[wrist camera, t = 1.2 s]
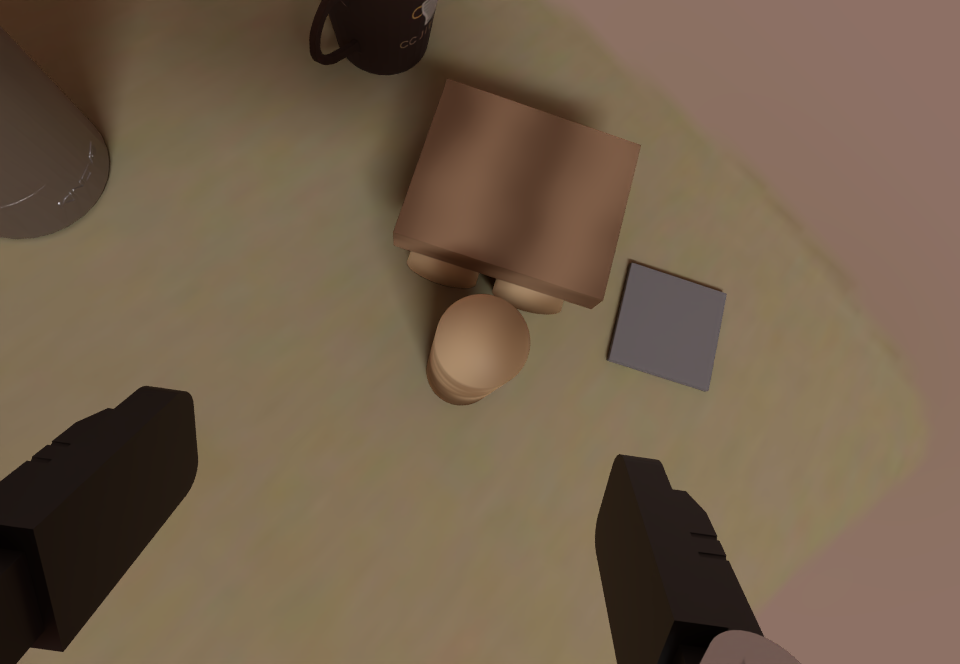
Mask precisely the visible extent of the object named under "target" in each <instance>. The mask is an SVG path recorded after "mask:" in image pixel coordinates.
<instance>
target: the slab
mask: <svg viewBox="0 0 960 664" xmlns="http://www.w3.org/2000/svg"><path fill="white" fill-rule="evenodd" d="M640 147H641V145H639V144H636V143H633V142H630V141H628V140H625V139H622V138H619V137H616V136H613V135H610V134H607V133H604V132H602V131H599V130H596V129H593V128H590V127H587V126H584V125H581V124H578V123H575V122H573V121H570V120H567V119H564V118H561V117H558V116H555V115H552V114H549V113H547V112H544V111H541V110H538V109H535V108H532V107H529V106H526V105H523V104H520V103H518V102H515V101H512V100H509V99H506V98H503V97H500V96H497V95H494V94H492V93H489V92H486V91H483V90H480V89H477V88H474V87H471V86H468V85H466V84H463V83H460V82H457V81H454V80H451V79H448V78H447V81H446V84H445V86H444V89H443V92H442V95H441V98H440V101H439V103H438V106H437V109H436V112H435V115H434V118H433V121H432V123H431V126H430V129H429V132H428V135H427V138H426V140H425V143H424V146H423V149H422V152H421V155H420V157H419V160H418V163H417V166H416V169H415V172H414V174H413V177H412V180H411V183H410V186H409V189H408V191H407V194H406V197H405V200H404V203H403V206H402V209H401V211H400V214H399V217H398V220H397V223H396V226H395V228H394V231H393V239H394V246H397V247H400V248H403V249H406V250H409V251H411V252H410V255H409V257H408V260H407V265H408V266H409V268H410V269H411V270H412V271H414V272H415V273H417V274H418V275H420V276H422V277H424V278H426V279H428V280H430V281H433V282H435V283H438V284H441V285H445V286H449V287H454V288H472V287H474V286H475V285H476V282H477V279H478V275H479V273H481V274H484V275H487V276H490V277H493V278H496V281H495V284H494V287H493V291H492V293H493V295H494V296H497V297H499V298H502V299H504V300H506V301H507V302H509V303H510V304H512V305H513V306H514V307H515V308H517V309H519V310H523V311H527V312H531V313H537V314H556V313H559V312H560V311H561V309H562V305H563V301H568V302H571V303H574V304H577V305H580V306H583V307H586V308H589V309H592V308H593V307H595V306H596V305H597V304H599V303H600V302H601V301H603V299H604V295H605V290H606V286H607V282H608V278H609V274H610V270H611V266H612V262H613V258H614V254H615V250H616V245H617V241H618V237H619V233H620V229H621V225H622V221H623V217H624V213H625V209H626V205H627V200H628V196H629V192H630V188H631V184H632V180H633V176H634V172H635V168H636V164H637V160H638V156H639V151H640Z"/></svg>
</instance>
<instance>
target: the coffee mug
mask: <svg viewBox="0 0 960 664" xmlns="http://www.w3.org/2000/svg"><path fill="white" fill-rule="evenodd" d="M436 5H437V0H322V1H321V3H320V5H319V7H318V10H317V12H316V14H315V17H314V20H313V23H312V27H311V31H310V39H309V41H310V54H311V56H312V58H313V60H314V61H316V62H318V63H320V64H323V65H330V64H334V63H337V62H338V61H340V60H342V59H344V58H345V57H346V58H347V59H348V60H349V61H350V62H352V63H353V64H354V65H355V66H357V67H358V68H360V69H362V70H364V71H367V72H369V73H373V74H378V75H393V74H399V73H401V72H404V71H407V70H408V69H410V68H412V67H413V66H415V65H416V64H417V63H418V62H419V61H420V60H421V58H422V57H423V55H424V53H425V51H426V49H427V44H428V40H429V36H430V31H431V27H432V22H433V18H434V14H435V9H436ZM328 13H329V16H330V19H331V22H332V25H333V29H334V32H335V35H336V38H337V41H338V44H339V46H340V48H339V49H337V50H336V51H334V52H332V53H330V54H327V55H323V54H322V53H321V50H320V38H321V32H322V29H323V25H324V22H325V19H326V17H327V15H328Z"/></svg>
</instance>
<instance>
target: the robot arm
mask: <svg viewBox="0 0 960 664" xmlns="http://www.w3.org/2000/svg"><path fill="white" fill-rule="evenodd" d="M108 172H109V157H108V150H107V147H106V145H105V142H104V140H103V137H102V136H101V134H100V133H99V131H98V130H97V129H96V127H95V126H94V125H93V124H92V123H91V122H90V120H89V119H88V118H87V117H86V116H85V115H84V114H83V113H82V112H81V111H80V110H79V109H78V108H77V107H76V106H75V105H74V104H73V103H72V101H71V100H70V99H69V98H68V97H67V96H66V95H65V94H64V93H63V92H62V91H61V90H60V89H59V88H58V86H57V85H56V84H55V83H54V82H53V81H52V80H51V79H50V78H49V77H48V76H47V75H46V74H45V73H44V72H43V71H42V70H41V68H40V67H39V66H38V65H37V64H36V63H35V62H34V61H33V60H32V59H31V58H30V57H29V56H28V55H27V54H26V53H25V52H24V51H23V50H22V48H21V47H20V46H19V45H18V44H17V43H16V42H15V41H14V40H13V39H12V38H11V37H10V36H9V35H8V34H7V33H6V32H5V31H4V30H3V29H2V27H1V26H0V237H4V238H12V239H24V238H36V237H40V236H44V235H48V234H52V233H54V232H57V231H59V230H61V229H63V228H66V227H68V226H70V225H71V224H73V223H74V222H75V221H77V220H78V219H80V218H81V217H83V216H84V215H85V214H86V213H87V212H88V211H89V210H90V209H91V208H92V207H93V206H94V204H95V203H96V201H97V200H98V198H99V197H100V195H101V194H102V192H103V190H104V187H105V184H106V181H107V179H108ZM197 467H198V452H197V440H196V428H195V416H194V404H193V399H192V396H191V395H190V393H188V392H186V391H179V390H172V389H165V388H158V387H151V386H143V387H141V388H139V389H138V390H136V391H135V392H134V393H133V394H132V395H130V396H129V397H128V398H127V399H125V400H124V401H123V402H122V403H121V404H119V405H118V406H117V407H116V408H114V409H110V408H107V409H105V410H103V411H100V412H98V413H96V414H94V415H91V416H89V417H87V418H85V419H83V420H80V421H78V422H76V423H75V424H73V425H72V426H71V427H70V428H68V429H67V430H66V431H64V432H63V433H62V434H61V435H59V436H58V437H57V438H55V439H54V440H53V441H52V444H51V445H46V446H45V447H44V448H43V449H41V450H40V451H39V452H37V453H36V454H35V455H34V456H32V460H31V461H26V462H25V463H23V464H22V465H21V466H19V467H18V468H17V469H16V470H14V471H13V472H12V473H11V474H9V475H8V476H7V477H5V478H4V479H3V480H2V481H0V664H16V663H17V662H18V661H19V660H20V659H21V657H22V656H23V655H24V654H25V653H26V652H27V650H28V649H29V648H30V647H31V648H38V649H46V650H53V651H60V652H64V650H65V649H66V648H67V646H68V645H69V644H70V643H71V641H72V640H73V639H74V638H75V636H76V635H77V634H78V632H79V631H80V630H81V629H82V627H83V626H84V625H85V624H86V622H87V621H88V620H89V618H90V617H91V616H92V615H93V613H94V612H95V611H96V610H97V608H98V607H99V606H100V604H101V603H102V602H103V601H104V599H105V598H106V597H107V596H108V594H109V593H110V592H111V590H112V589H113V588H114V587H115V585H116V584H117V583H118V582H119V580H120V579H121V578H122V576H123V575H124V574H125V573H126V571H127V570H128V569H129V567H130V566H131V565H132V564H133V562H134V561H135V560H136V559H137V557H138V556H139V555H140V553H141V552H142V551H143V550H144V548H145V547H146V546H147V545H148V543H149V542H150V541H151V539H152V538H153V537H154V536H155V534H156V533H157V532H158V531H159V529H160V528H161V527H162V525H163V524H164V523H165V522H166V520H167V519H168V518H169V517H170V515H171V514H172V513H173V511H174V510H175V509H176V508H177V506H178V505H179V504H180V503H181V501H182V500H183V499H184V497H185V496H186V495H187V493H188V492H189V490H190V489H191V487H192V484H193V482H194V479H195V476H196V472H197ZM595 548H596V555H597V560H598V566H599V571H600V576H601V581H602V586H603V592H604V597H605V602H606V607H607V613H608V618H609V623H610V628H611V634H612V639H613V644H614V649H615V655H616V660H617V664H800V662H799V661H798V660H797V659H795V657H794V656H792V655H791V654H790V653H789V652H788V651H786V650H785V649H784V648H782V647H781V646H779V645H778V644H776V643H774V642H773V641H771V640H769V639H767V638H765V637H764V636H763V633H762V631H761V629H760V627H759V625H758V623H757V620H756V618H755V616H754V614H753V612H752V610H751V608H750V605H749V603H748V601H747V599H746V597H745V595H744V593H743V590H742V588H741V586H740V584H739V582H738V580H737V578H736V575H735V573H734V571H733V569H732V567H731V565H730V563H729V561H727V560H726V554H725V552H724V550H723V548H722V545H721V543H720V541H718V540H717V535H716V533H715V530H714V528H713V526H712V524H711V522H710V520H709V518H708V515H707V513H706V512H705V511H704V510H703V509H702V508H701V507H700V506H699V505H698V504H697V503H696V501H695V500H694V499H693V498H692V497H691V496H690V495H689V494H688V493H687V492H686V491H680V490H673V489H672V487H671V485H670V482H669V480H668V478H667V475H666V473H665V470H664V468H663V465H662V463H661V462H660V461H659V460H656V459H649V458H642V457H635V456H628V455H620V454H619V455H617V456H616V458H615V460H614V463H613V466H612V469H611V472H610V476H609V479H608V483H607V486H606V490H605V493H604V497H603V500H602V504H601V507H600V511H599V514H598V518H597V523H596V531H595Z"/></svg>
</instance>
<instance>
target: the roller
mask: <svg viewBox="0 0 960 664" xmlns="http://www.w3.org/2000/svg"><path fill="white" fill-rule="evenodd" d="M529 350H530V334H529V330H528V327H527V324H526V322H525V320H524V318H523V317H522V315H521V314H520V312H519V311H518V310H517V309H516V308H515V307H514V306H513V305H512V304H510V303H509V302H507V301H506V300H504V299H502V298H499V297H497V296H493V295H488V294H475V295H470V296H466V297H464V298H462V299H460V300H458V301H456V302H455V303H453V304H452V305H451V306H450V307H449V308H448V309H447V310H446V311H445V312H444V314H443V315H442V317H441V319H440V321H439V323H438V326H437V330H436V333H435V337H434V340H433V344H432V348H431V351H430V355H429V359H428V362H427V379H428V382H429V384H430V387H431V388H432V390H433V391H434V393H435V394H436V395H437V396H438V397H439V398H441V399H442V400H444V401H446V402H448V403H450V404H454V405H469V404H473V403H475V402H477V401H479V400H481V399H482V398H484V397H485V396H487V395H488V394H490V393H491V392H493V391H494V390H496V389H497V388H499V387H500V386H502V385H503V384H505V383H507V382H508V381H510V380H511V379H512V378H514V377H515V376H516V375H517V374H518V373H519V372H520V371H521V369H522V368H523V366H524V364H525V362H526V360H527V358H528V355H529Z"/></svg>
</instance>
